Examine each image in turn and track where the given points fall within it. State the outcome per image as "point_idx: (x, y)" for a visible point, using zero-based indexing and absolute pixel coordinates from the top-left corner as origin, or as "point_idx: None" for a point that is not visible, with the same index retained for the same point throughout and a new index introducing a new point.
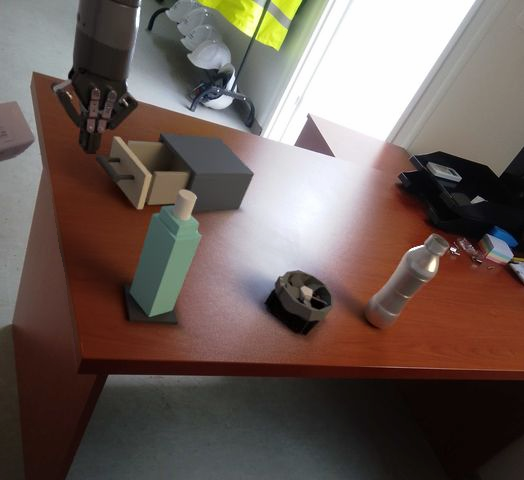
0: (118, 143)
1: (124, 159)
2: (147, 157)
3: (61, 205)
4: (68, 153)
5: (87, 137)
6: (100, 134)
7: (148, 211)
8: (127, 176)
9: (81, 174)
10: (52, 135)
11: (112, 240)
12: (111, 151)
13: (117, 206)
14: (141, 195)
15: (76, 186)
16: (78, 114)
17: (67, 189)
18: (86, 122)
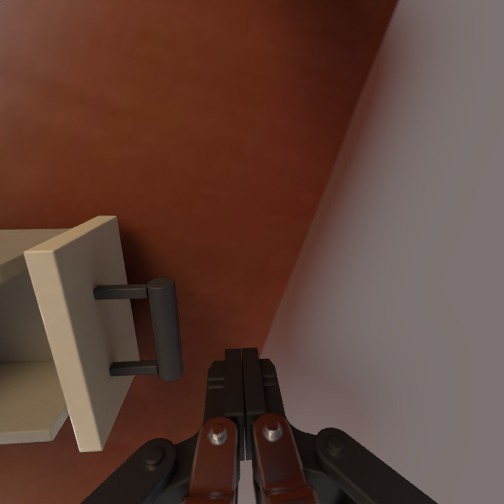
0: (97, 421)
1: (99, 361)
2: (2, 393)
3: (296, 254)
4: (200, 414)
5: (266, 397)
6: (209, 416)
7: (78, 220)
8: (118, 291)
9: (202, 354)
10: None
11: (237, 111)
12: (120, 404)
13: (162, 244)
14: (93, 226)
15: (232, 315)
16: (368, 499)
17: (257, 305)
18: (299, 459)
